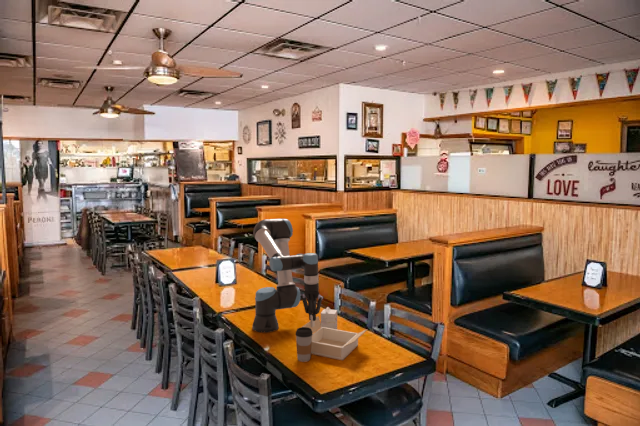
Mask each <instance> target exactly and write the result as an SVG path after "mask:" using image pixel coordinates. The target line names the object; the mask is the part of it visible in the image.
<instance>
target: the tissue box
mask: <svg viewBox="0 0 640 426" xmlns="http://www.w3.org/2000/svg"><path fill="white" fill-rule="evenodd" d="M320 323H321V328H322V327H326V328H331V329H337V330H338V309H331V308H330V307H329V306H327V307H326V308H324V309H322V311H321V312H320Z"/></svg>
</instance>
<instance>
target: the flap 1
mask: <svg viewBox="0 0 640 426" xmlns="http://www.w3.org/2000/svg"><path fill="white" fill-rule="evenodd" d="M302 327H308V328H310V329H311V330H312V334H313V333H315V332H316V331H318V330H319V329H320V328H321V319H320V317H319V316H316V320H315V326H314V327H311V320H309V321H308V322H306V324H304V325H302Z"/></svg>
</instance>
